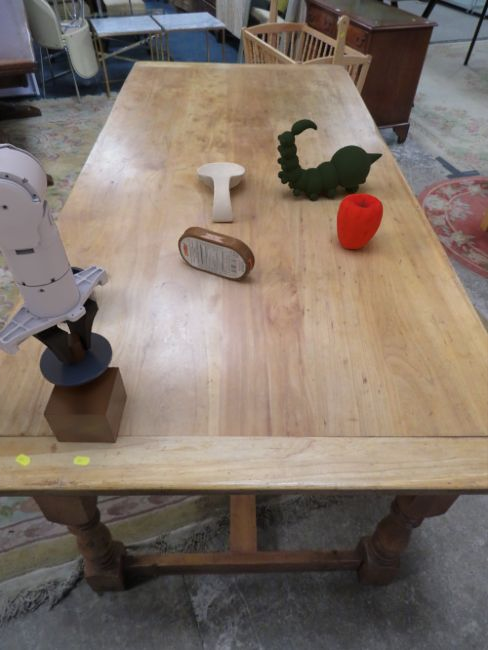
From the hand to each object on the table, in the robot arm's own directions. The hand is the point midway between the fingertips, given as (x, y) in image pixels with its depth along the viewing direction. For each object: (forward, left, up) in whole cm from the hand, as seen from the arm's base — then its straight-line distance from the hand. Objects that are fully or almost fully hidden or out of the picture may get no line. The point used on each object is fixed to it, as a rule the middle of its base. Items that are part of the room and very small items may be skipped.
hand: (74, 353), depth 56 cm
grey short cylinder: (-8, +19, -9) cm, 23 cm away
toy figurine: (+41, +62, -10) cm, 75 cm away
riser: (+1, -3, -9) cm, 10 cm away
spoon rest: (+16, +59, -10) cm, 62 cm away
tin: (+16, +30, -10) cm, 35 cm away
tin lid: (0, 0, -1) cm, 1 cm away
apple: (+44, +40, -10) cm, 60 cm away
